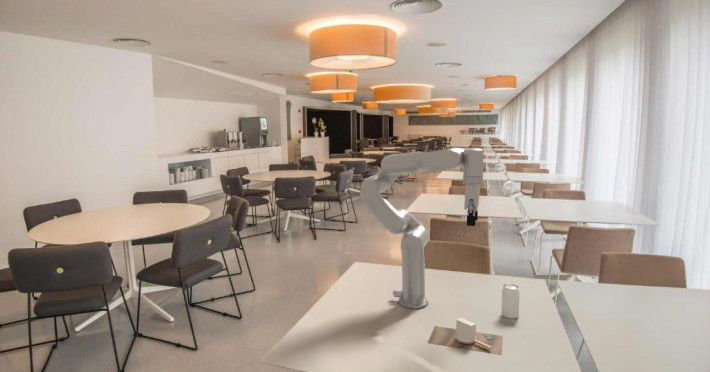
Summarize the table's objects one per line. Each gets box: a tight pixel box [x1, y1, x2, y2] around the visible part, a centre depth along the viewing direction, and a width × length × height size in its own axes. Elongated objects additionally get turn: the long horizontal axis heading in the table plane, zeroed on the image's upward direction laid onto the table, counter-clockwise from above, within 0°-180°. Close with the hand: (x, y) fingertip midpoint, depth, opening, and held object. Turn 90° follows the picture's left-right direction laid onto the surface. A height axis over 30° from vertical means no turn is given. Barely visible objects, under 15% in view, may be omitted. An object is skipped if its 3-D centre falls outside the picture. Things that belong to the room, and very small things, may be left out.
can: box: [501, 283, 520, 320], centre depth 167 cm, size 6×6×12 cm
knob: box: [455, 317, 492, 349], centre depth 144 cm, size 14×7×6 cm, turn 39°
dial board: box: [427, 325, 504, 356], centre depth 147 cm, size 24×13×2 cm, turn 69°
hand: (472, 222), depth 168 cm, fingers open, 9 cm apart
